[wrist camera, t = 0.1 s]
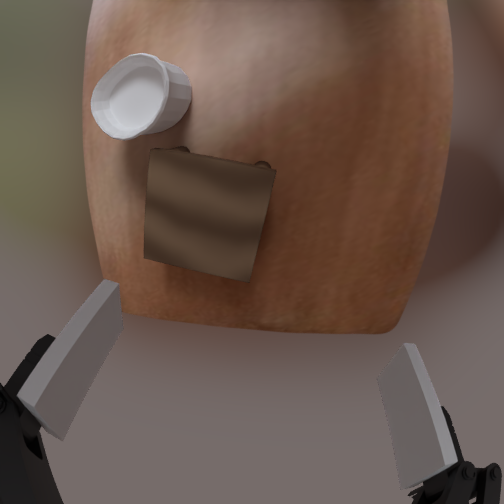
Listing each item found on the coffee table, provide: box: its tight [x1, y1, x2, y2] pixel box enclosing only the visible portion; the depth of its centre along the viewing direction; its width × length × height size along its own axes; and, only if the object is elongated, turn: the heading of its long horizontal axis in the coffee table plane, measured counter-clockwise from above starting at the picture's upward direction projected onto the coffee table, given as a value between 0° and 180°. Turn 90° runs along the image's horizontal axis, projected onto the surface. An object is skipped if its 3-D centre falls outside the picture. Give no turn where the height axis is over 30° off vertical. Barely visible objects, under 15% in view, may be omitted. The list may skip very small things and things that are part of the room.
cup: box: [91, 53, 192, 141], centre depth 27 cm, size 10×10×10 cm
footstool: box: [144, 146, 276, 283], centre depth 34 cm, size 14×14×8 cm
